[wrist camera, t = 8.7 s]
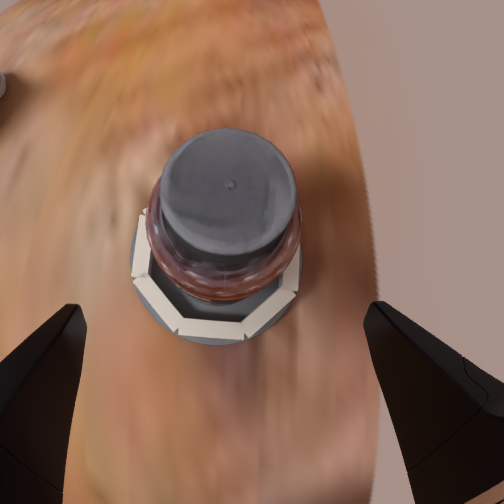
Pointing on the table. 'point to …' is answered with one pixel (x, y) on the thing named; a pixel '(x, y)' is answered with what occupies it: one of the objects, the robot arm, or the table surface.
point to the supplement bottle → (224, 216)
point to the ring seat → (202, 315)
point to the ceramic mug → (2, 85)
